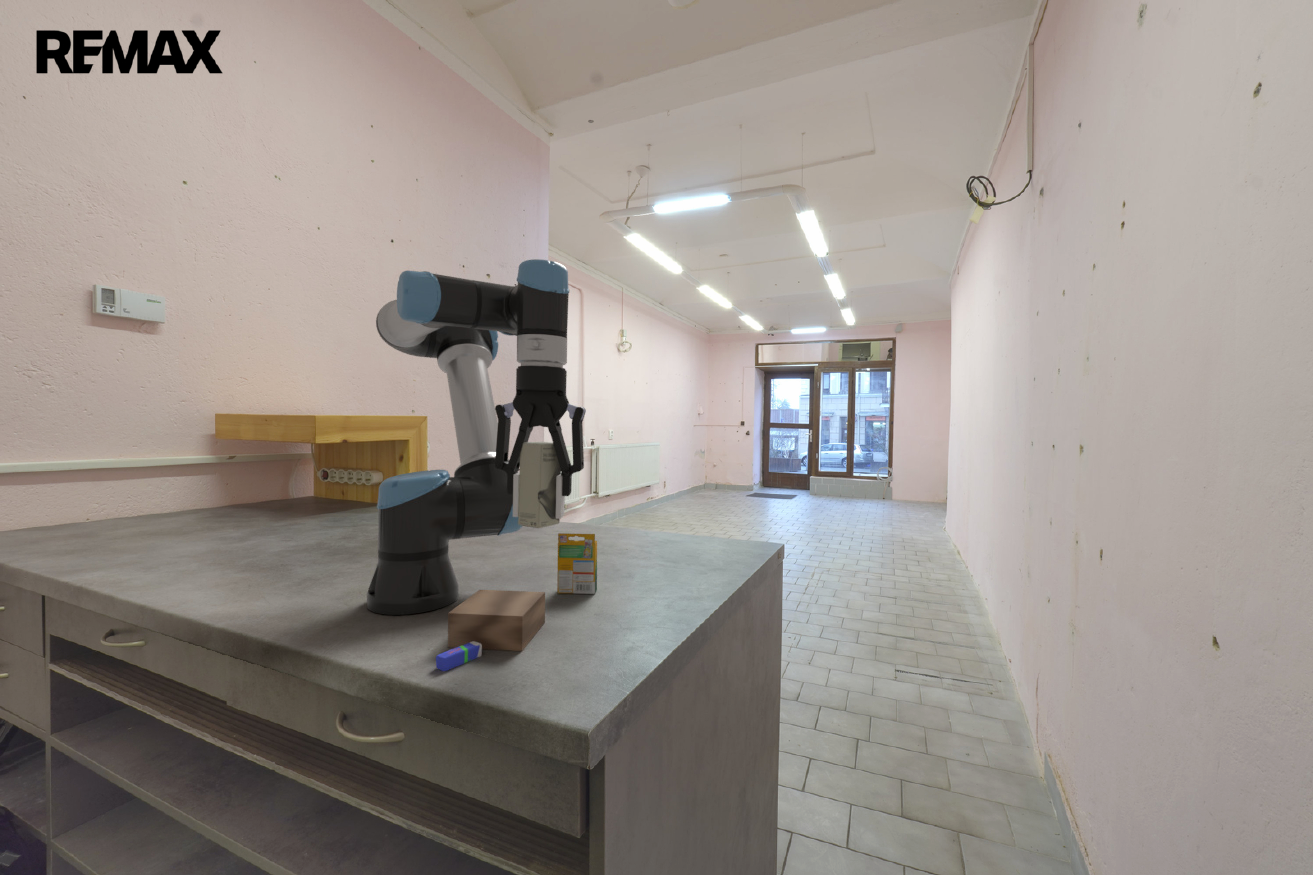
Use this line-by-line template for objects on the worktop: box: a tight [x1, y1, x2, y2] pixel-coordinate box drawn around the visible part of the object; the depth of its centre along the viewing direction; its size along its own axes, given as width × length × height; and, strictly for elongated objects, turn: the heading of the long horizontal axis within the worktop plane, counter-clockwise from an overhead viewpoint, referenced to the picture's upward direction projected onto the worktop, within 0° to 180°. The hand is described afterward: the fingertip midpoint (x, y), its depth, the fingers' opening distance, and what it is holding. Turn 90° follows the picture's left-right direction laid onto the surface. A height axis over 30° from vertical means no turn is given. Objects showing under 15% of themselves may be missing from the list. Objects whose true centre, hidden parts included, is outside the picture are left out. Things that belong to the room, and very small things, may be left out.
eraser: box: [435, 641, 483, 672], centre depth 73 cm, size 2×6×2 cm, turn 146°
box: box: [518, 441, 561, 529], centre depth 83 cm, size 5×4×13 cm
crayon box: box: [556, 532, 598, 595], centre depth 103 cm, size 7×3×12 cm, turn 88°
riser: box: [447, 589, 546, 652], centre depth 82 cm, size 11×11×5 cm
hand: (538, 515), depth 83 cm, fingers closed on box, 6 cm apart
